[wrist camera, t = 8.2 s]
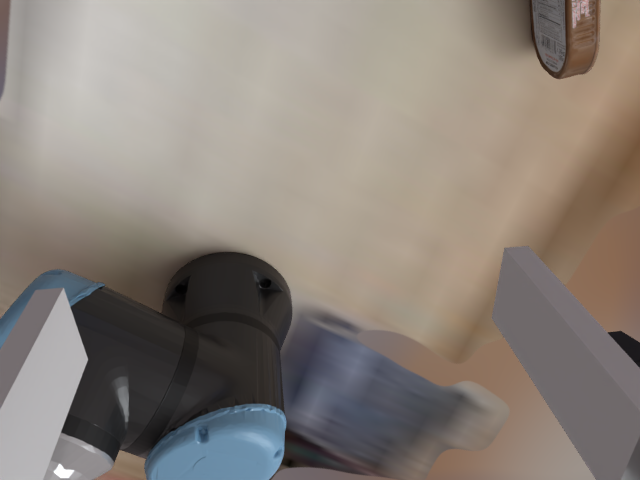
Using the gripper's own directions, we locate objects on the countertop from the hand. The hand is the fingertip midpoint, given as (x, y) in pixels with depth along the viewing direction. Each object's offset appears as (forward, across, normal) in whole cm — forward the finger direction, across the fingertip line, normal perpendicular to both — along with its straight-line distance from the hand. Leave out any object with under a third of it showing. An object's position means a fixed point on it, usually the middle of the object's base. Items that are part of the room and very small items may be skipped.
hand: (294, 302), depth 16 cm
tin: (+38, -26, -5) cm, 46 cm away
